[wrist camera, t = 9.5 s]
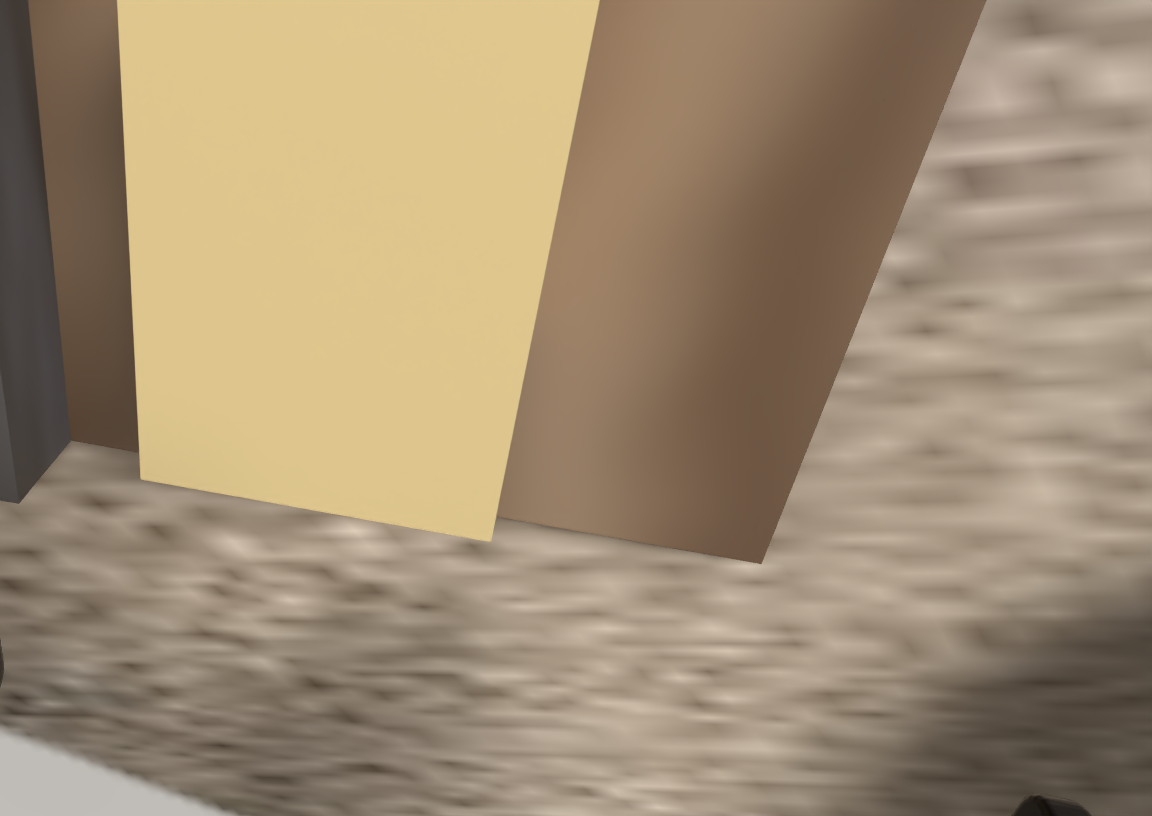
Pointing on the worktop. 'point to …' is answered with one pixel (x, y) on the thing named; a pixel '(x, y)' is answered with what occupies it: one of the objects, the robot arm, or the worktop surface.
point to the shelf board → (555, 251)
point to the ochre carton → (343, 242)
